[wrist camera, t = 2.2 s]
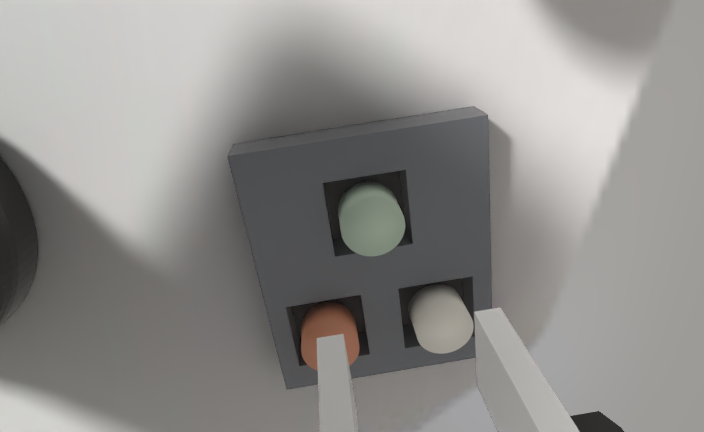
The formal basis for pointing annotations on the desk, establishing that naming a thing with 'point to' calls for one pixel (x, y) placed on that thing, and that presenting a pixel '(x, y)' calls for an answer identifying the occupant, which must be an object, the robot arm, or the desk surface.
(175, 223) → the desk surface
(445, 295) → the cream button
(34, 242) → the robot arm
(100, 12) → the desk surface
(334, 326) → the rust button
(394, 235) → the sage button
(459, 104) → the desk surface
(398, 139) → the panel
